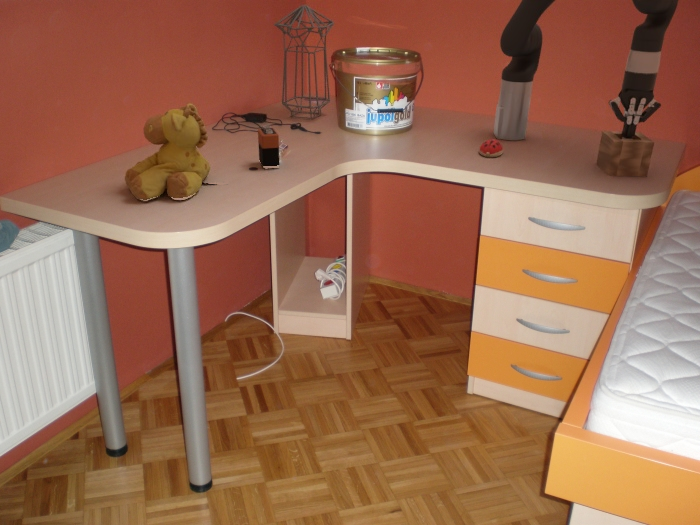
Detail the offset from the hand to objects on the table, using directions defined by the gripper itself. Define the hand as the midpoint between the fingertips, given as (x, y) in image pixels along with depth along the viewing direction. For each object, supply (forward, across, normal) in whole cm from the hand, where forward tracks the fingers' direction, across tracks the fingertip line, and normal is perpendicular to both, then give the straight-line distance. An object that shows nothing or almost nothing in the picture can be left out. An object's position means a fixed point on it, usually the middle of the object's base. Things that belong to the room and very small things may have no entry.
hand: (627, 137), depth 171 cm
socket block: (+9, 0, 0) cm, 9 cm away
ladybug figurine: (+9, +33, -12) cm, 36 cm away
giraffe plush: (+9, +113, +24) cm, 116 cm away
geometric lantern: (+9, +89, -49) cm, 102 cm away
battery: (+9, +93, +5) cm, 94 cm away
